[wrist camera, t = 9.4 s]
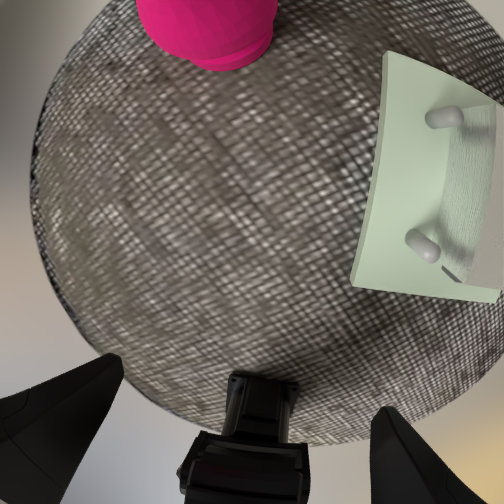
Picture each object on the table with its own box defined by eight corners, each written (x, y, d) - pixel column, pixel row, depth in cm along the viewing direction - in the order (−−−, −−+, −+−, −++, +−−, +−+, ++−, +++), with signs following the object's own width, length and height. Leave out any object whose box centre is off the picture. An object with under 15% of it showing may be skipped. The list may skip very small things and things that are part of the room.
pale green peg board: (488, 297, 17) (512, 320, 13) (349, 278, 18) (362, 310, 14) (523, 127, 11) (554, 129, 7) (382, 55, 13) (404, 33, 9)
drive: (451, 111, 12) (496, 103, 7) (498, 135, 12) (542, 138, 7) (426, 259, 16) (461, 293, 11) (472, 268, 15) (508, 298, 11)
